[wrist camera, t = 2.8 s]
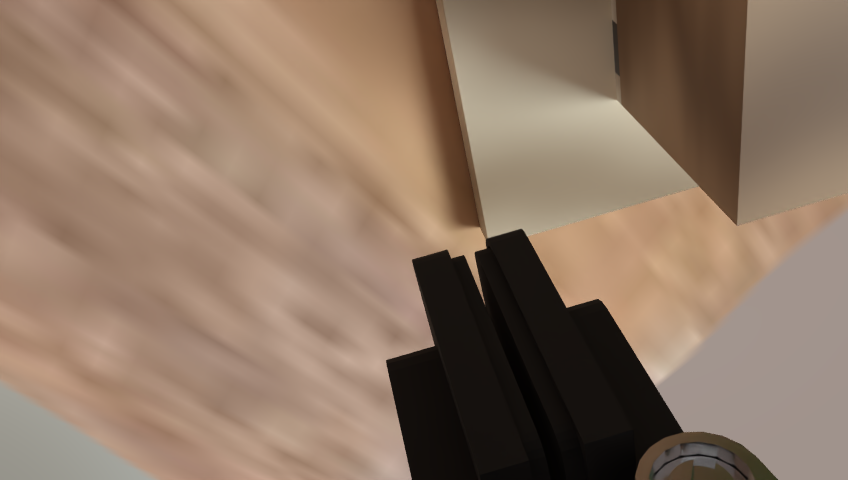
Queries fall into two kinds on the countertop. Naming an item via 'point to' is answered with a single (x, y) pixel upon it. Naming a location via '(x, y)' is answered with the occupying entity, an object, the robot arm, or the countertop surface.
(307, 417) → the countertop surface
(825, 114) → the walnut block
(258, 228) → the countertop surface
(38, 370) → the countertop surface
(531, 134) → the board
